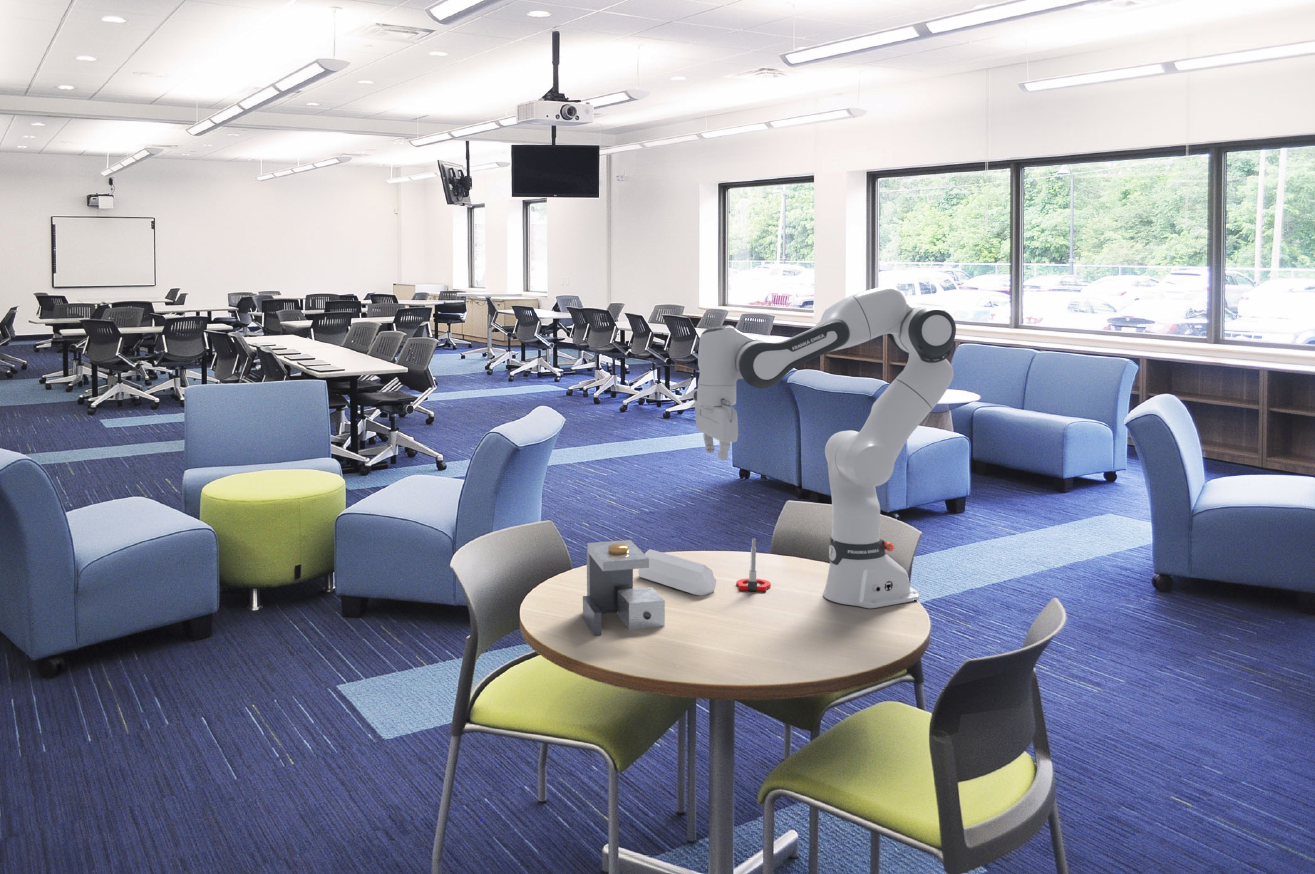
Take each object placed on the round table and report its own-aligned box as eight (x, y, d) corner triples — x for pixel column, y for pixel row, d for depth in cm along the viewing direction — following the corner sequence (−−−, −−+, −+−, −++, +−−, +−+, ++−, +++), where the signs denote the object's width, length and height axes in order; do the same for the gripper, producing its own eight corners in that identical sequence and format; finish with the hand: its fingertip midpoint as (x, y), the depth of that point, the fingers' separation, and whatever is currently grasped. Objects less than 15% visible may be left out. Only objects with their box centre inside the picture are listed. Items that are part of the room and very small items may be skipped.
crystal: (627, 563, 266) (694, 584, 248) (645, 545, 269) (713, 565, 252) (638, 585, 269) (705, 607, 252) (656, 567, 273) (723, 587, 255)
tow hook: (737, 582, 265) (734, 591, 256) (738, 531, 263) (735, 538, 254) (771, 584, 263) (769, 593, 254) (772, 532, 262) (771, 540, 253)
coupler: (629, 606, 244) (629, 533, 241) (648, 630, 228) (649, 553, 225) (578, 610, 241) (577, 537, 238) (594, 635, 225) (593, 557, 222)
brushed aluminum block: (651, 612, 240) (651, 587, 240) (665, 627, 231) (665, 601, 230) (617, 615, 238) (617, 590, 237) (629, 631, 228) (629, 604, 227)
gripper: (745, 401, 234) (744, 463, 236) (715, 391, 253) (715, 448, 255) (718, 402, 232) (717, 464, 234) (690, 391, 252) (690, 449, 254)
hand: (716, 455), depth 245 cm, fingers open, 8 cm apart
